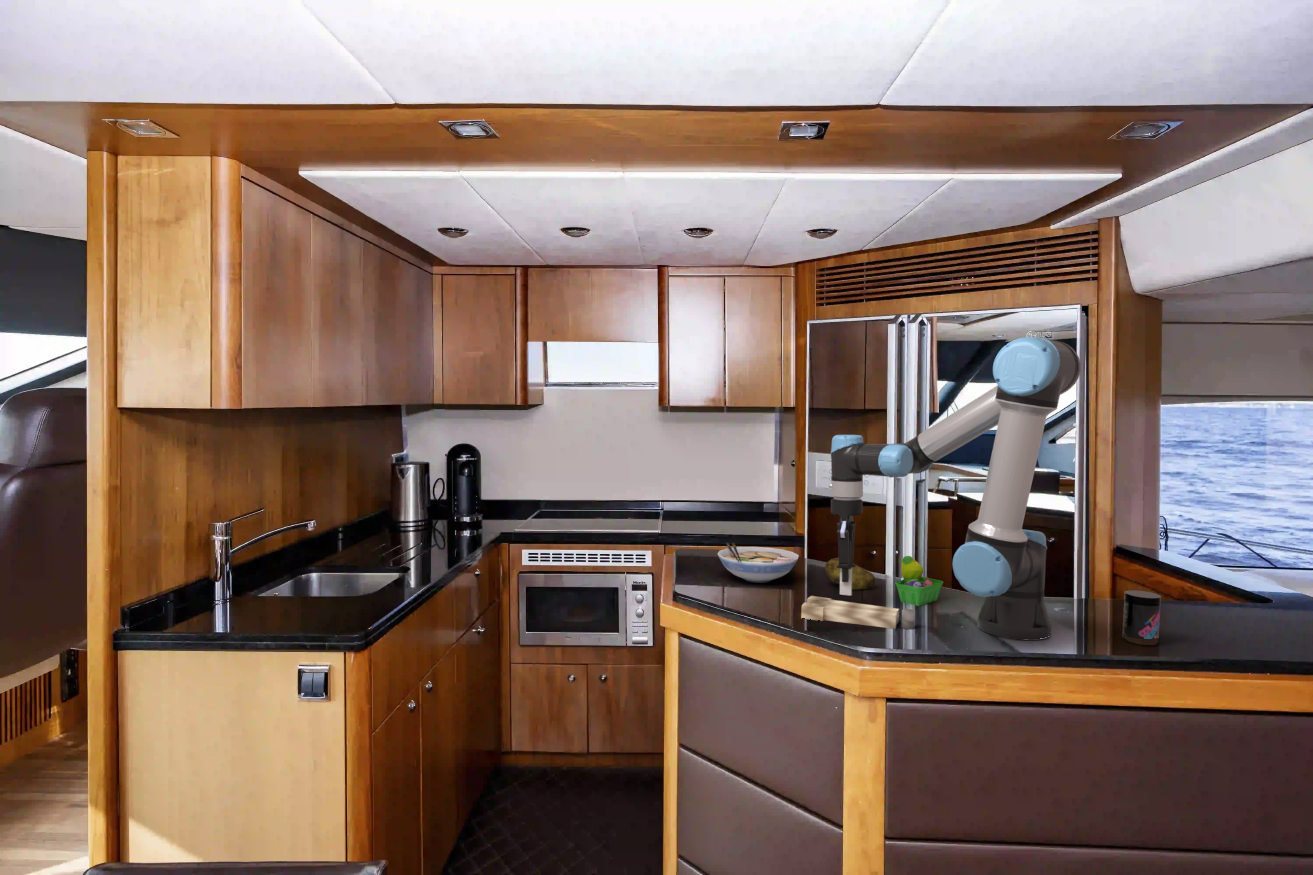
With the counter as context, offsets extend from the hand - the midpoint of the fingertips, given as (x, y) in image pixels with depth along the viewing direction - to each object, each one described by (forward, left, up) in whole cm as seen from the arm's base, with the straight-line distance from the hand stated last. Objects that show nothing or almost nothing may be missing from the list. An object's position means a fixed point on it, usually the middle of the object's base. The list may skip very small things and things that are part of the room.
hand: (845, 594), depth 192 cm
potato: (+3, -22, -4) cm, 23 cm away
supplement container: (-62, -1, -4) cm, 63 cm away
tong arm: (-3, +7, -3) cm, 8 cm away
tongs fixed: (-4, +11, -4) cm, 12 cm away
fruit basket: (-15, -16, -4) cm, 23 cm away
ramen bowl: (+28, -20, -4) cm, 34 cm away
